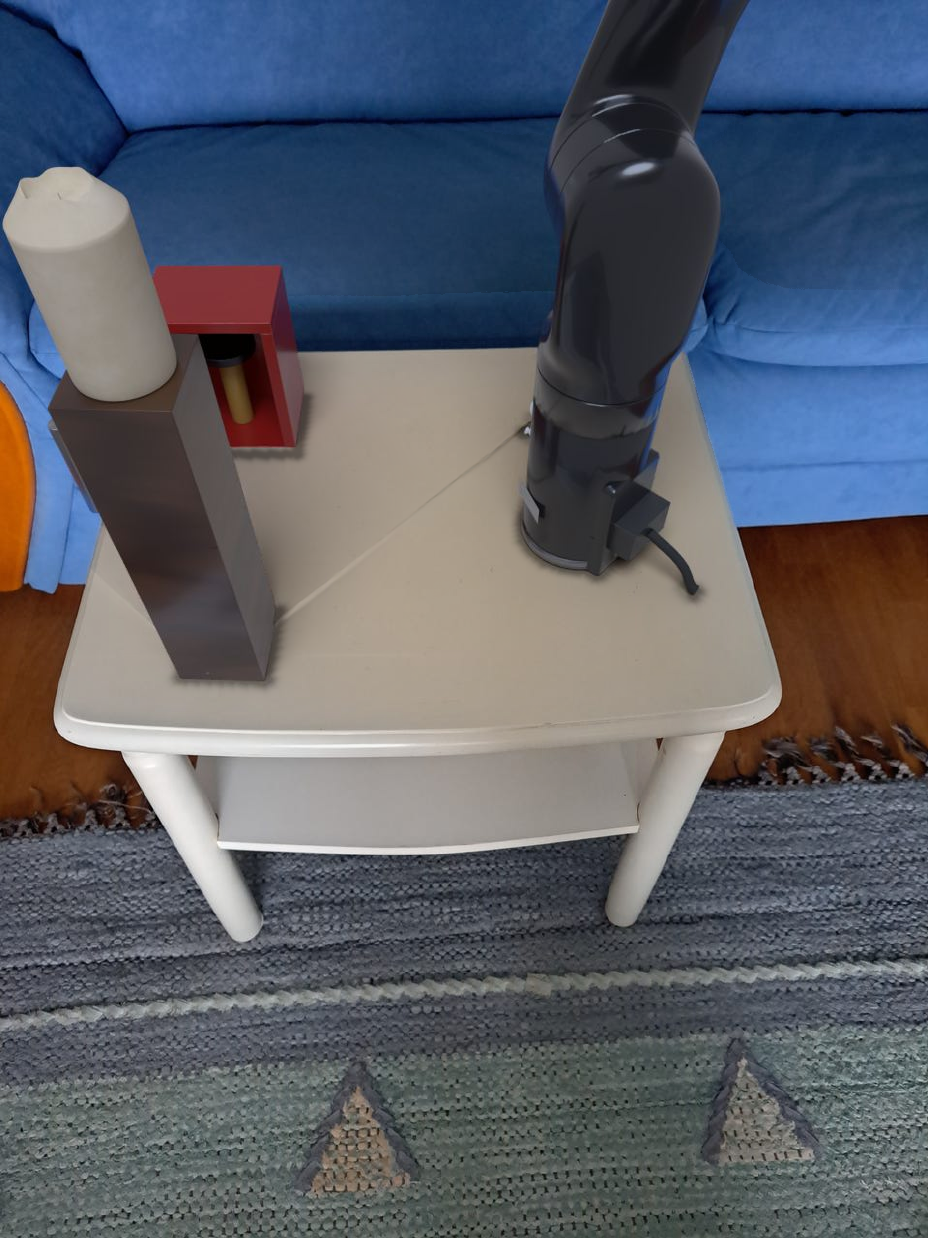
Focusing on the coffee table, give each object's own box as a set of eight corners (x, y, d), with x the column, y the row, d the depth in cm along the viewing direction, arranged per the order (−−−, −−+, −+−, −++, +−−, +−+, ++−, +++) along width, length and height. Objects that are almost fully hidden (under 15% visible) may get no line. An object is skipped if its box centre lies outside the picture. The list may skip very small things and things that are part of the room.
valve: (283, 415, 81) (267, 339, 74) (239, 444, 79) (218, 368, 72) (247, 391, 83) (228, 314, 76) (203, 418, 81) (180, 342, 74)
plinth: (277, 612, 69) (198, 333, 48) (264, 681, 65) (171, 411, 44) (197, 610, 69) (83, 330, 48) (179, 678, 65) (46, 408, 44)
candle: (153, 409, 44) (84, 221, 36) (52, 395, 45) (-38, 207, 37) (194, 343, 47) (139, 157, 39) (100, 330, 48) (26, 144, 40)
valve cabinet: (297, 454, 79) (270, 323, 68) (182, 455, 79) (135, 323, 68) (305, 397, 84) (281, 264, 73) (196, 397, 84) (156, 264, 73)
